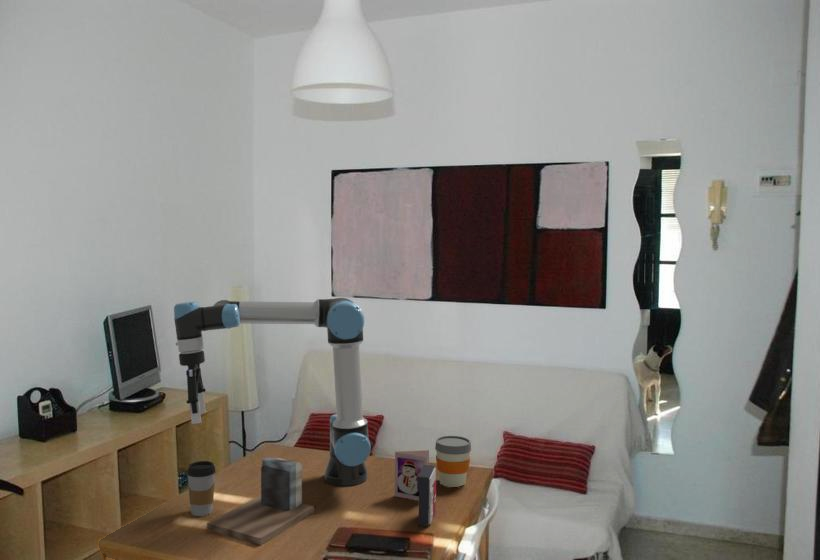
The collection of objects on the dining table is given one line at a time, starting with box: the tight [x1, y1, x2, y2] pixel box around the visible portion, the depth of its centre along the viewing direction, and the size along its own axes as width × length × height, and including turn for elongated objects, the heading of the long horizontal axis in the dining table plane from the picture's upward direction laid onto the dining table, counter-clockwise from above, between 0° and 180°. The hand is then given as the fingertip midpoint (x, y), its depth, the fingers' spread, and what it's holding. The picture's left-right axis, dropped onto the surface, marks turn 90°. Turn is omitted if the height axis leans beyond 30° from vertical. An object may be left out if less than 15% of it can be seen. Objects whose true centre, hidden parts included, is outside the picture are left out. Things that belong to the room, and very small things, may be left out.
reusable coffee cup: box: [434, 435, 472, 488], centre depth 233 cm, size 13×13×15 cm
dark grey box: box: [417, 464, 437, 527], centre depth 203 cm, size 11×4×15 cm, turn 168°
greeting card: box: [393, 449, 430, 501], centre depth 221 cm, size 11×7×15 cm, turn 65°
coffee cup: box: [186, 460, 216, 517], centre depth 205 cm, size 8×8×15 cm
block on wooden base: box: [206, 456, 315, 546], centre depth 200 cm, size 20×25×16 cm
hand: (199, 418), depth 211 cm, fingers open, 13 cm apart
